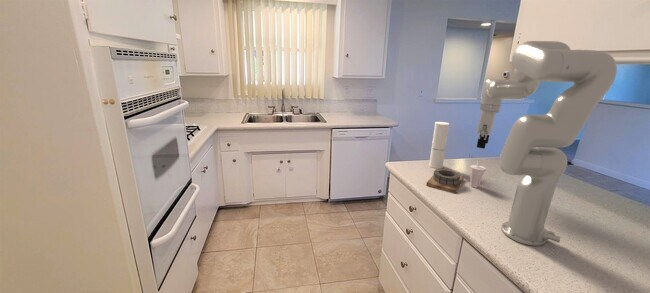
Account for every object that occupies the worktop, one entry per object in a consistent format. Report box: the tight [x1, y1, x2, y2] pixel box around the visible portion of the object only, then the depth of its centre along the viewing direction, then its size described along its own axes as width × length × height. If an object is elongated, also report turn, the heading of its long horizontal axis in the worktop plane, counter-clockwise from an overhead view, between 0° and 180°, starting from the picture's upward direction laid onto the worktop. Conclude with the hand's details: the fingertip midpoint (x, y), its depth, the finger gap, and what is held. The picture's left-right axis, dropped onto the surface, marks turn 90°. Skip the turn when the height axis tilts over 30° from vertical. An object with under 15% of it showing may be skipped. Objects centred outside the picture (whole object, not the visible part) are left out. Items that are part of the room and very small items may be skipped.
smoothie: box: [469, 157, 487, 189], centre depth 129 cm, size 6×6×14 cm
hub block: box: [426, 168, 465, 194], centre depth 133 cm, size 13×18×5 cm
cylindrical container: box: [428, 121, 450, 170], centre depth 151 cm, size 7×7×25 cm
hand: (482, 145), depth 125 cm, fingers open, 9 cm apart
